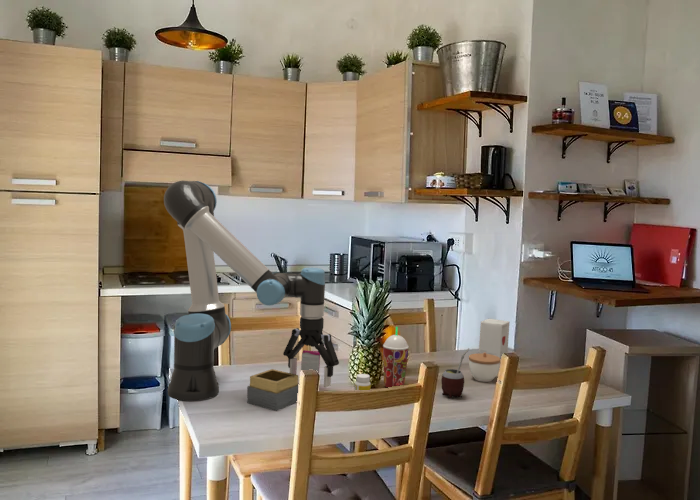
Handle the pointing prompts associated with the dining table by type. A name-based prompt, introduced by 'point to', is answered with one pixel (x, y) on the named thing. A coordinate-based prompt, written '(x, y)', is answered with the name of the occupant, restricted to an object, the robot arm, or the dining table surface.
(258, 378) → the box
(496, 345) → the supplement box
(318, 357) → the supplement box
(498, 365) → the lidded jar
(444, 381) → the mate gourd
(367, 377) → the supplement bottle
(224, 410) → the dining table surface
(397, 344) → the smoothie
